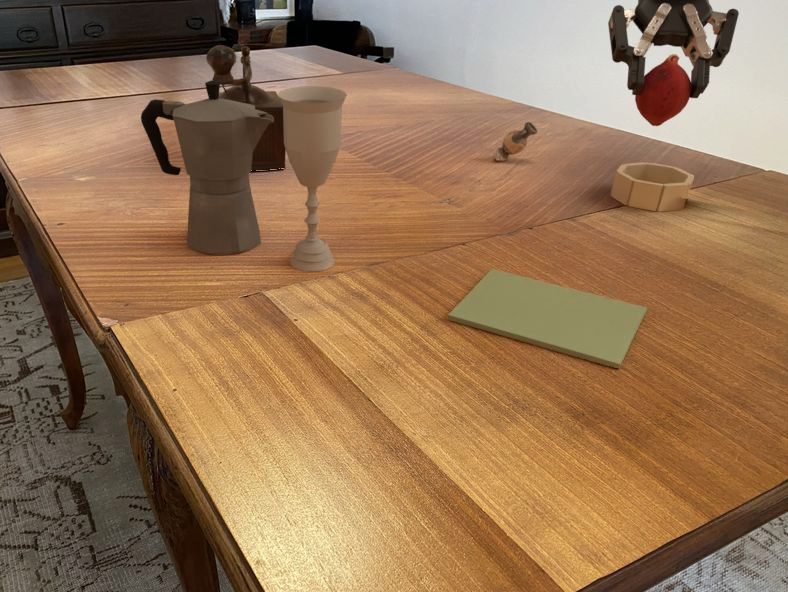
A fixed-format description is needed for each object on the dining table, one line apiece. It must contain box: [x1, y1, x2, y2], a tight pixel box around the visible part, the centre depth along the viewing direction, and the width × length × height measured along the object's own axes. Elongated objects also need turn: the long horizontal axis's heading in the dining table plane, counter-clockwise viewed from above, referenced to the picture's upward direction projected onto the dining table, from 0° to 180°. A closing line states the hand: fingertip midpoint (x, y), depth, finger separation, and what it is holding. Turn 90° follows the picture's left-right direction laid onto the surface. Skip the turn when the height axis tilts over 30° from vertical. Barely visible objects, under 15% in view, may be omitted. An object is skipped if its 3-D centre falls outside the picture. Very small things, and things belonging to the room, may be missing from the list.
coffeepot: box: [140, 79, 274, 256], centre depth 79 cm, size 15×9×18 cm, turn 75°
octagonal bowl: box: [610, 161, 695, 213], centre depth 96 cm, size 9×9×4 cm
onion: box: [634, 53, 691, 127], centre depth 82 cm, size 6×6×8 cm
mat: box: [447, 268, 648, 369], centre depth 69 cm, size 16×12×1 cm
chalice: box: [277, 85, 348, 272], centre depth 74 cm, size 7×7×18 cm
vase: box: [492, 121, 538, 162], centre depth 109 cm, size 5×5×6 cm
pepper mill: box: [205, 44, 286, 171], centre depth 102 cm, size 16×11×18 cm
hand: (667, 92), depth 80 cm, fingers closed on onion, 5 cm apart
